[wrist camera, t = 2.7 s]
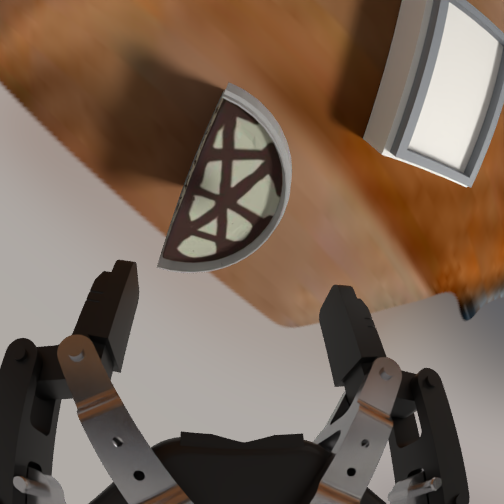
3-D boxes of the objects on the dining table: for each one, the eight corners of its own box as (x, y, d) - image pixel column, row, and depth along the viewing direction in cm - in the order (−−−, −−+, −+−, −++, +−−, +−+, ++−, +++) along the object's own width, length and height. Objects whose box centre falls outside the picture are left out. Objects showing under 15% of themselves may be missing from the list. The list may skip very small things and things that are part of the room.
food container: (239, 220, 28) (240, 299, 20) (178, 199, 26) (154, 273, 18) (301, 105, 21) (341, 140, 13) (231, 73, 19) (227, 86, 11)
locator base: (405, -17, 13) (437, -24, 9) (486, 39, 15) (520, 46, 11) (362, 138, 23) (387, 159, 19) (445, 169, 25) (472, 192, 21)
